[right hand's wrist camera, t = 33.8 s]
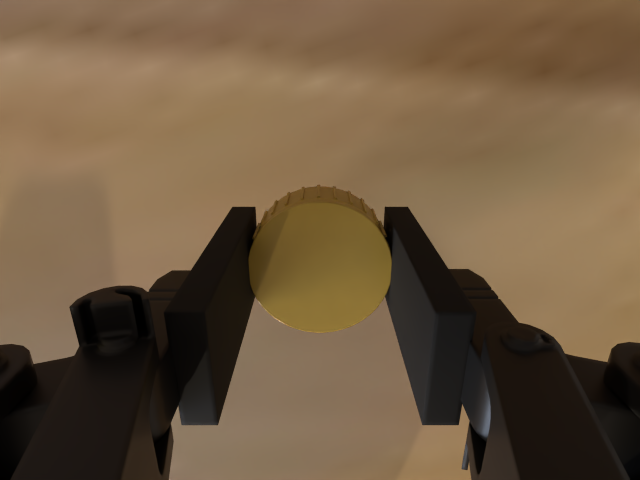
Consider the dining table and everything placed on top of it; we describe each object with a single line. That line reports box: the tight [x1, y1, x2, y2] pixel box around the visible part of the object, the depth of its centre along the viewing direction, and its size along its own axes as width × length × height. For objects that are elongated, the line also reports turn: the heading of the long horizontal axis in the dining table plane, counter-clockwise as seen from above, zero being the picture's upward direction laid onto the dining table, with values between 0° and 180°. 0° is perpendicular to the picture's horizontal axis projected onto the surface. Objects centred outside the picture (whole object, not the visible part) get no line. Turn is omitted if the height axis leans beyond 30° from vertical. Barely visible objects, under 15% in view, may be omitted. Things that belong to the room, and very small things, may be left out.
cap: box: [248, 185, 392, 333], centre depth 13 cm, size 4×4×2 cm
